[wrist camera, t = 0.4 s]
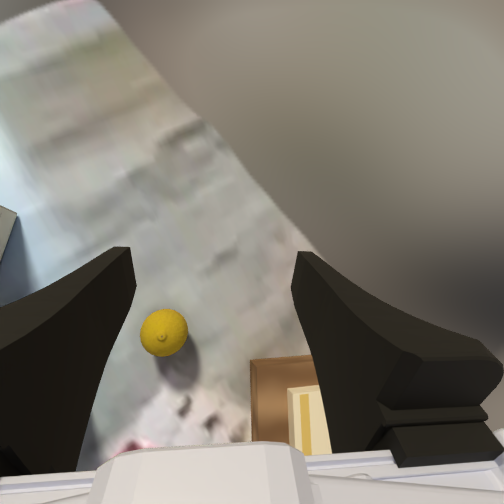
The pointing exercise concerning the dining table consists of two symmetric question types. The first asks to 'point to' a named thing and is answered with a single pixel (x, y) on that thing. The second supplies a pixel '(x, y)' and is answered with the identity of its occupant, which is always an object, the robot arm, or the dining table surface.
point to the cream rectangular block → (307, 421)
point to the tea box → (5, 226)
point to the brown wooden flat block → (276, 393)
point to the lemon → (164, 332)
